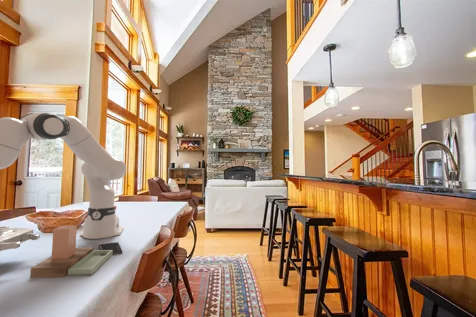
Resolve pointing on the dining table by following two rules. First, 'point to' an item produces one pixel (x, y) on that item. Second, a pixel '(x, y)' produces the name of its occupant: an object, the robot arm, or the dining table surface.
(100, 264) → the box
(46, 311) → the dining table surface
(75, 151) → the robot arm
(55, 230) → the terracotta block
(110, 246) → the phone
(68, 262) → the platform
